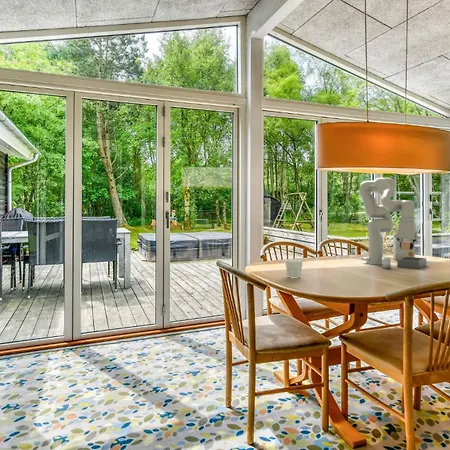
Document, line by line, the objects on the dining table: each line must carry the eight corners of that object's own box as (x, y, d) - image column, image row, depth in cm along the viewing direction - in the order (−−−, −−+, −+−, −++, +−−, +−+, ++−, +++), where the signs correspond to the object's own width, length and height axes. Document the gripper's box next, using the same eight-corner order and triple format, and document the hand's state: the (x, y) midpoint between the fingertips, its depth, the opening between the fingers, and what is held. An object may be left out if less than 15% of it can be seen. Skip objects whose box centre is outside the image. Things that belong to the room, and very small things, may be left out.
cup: (285, 278, 217) (285, 261, 217) (285, 275, 227) (285, 259, 226) (303, 279, 216) (303, 262, 215) (301, 275, 226) (302, 259, 225)
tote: (419, 268, 245) (419, 261, 245) (397, 266, 254) (397, 259, 254) (426, 265, 258) (426, 258, 258) (405, 263, 267) (405, 256, 267)
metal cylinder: (382, 269, 246) (383, 258, 245) (381, 267, 250) (381, 257, 250) (391, 269, 244) (391, 258, 244) (389, 268, 249) (389, 257, 249)
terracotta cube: (409, 250, 233) (409, 242, 232) (400, 249, 236) (401, 241, 236) (411, 249, 236) (412, 241, 236) (403, 248, 240) (403, 241, 239)
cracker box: (411, 259, 288) (412, 231, 286) (414, 260, 282) (415, 232, 280) (392, 259, 289) (393, 231, 288) (395, 260, 283) (395, 232, 282)
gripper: (391, 219, 238) (390, 248, 239) (420, 221, 226) (419, 250, 228) (395, 219, 243) (394, 247, 245) (423, 220, 232) (422, 249, 233)
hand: (406, 248), depth 236 cm, fingers closed on terracotta cube, 5 cm apart
